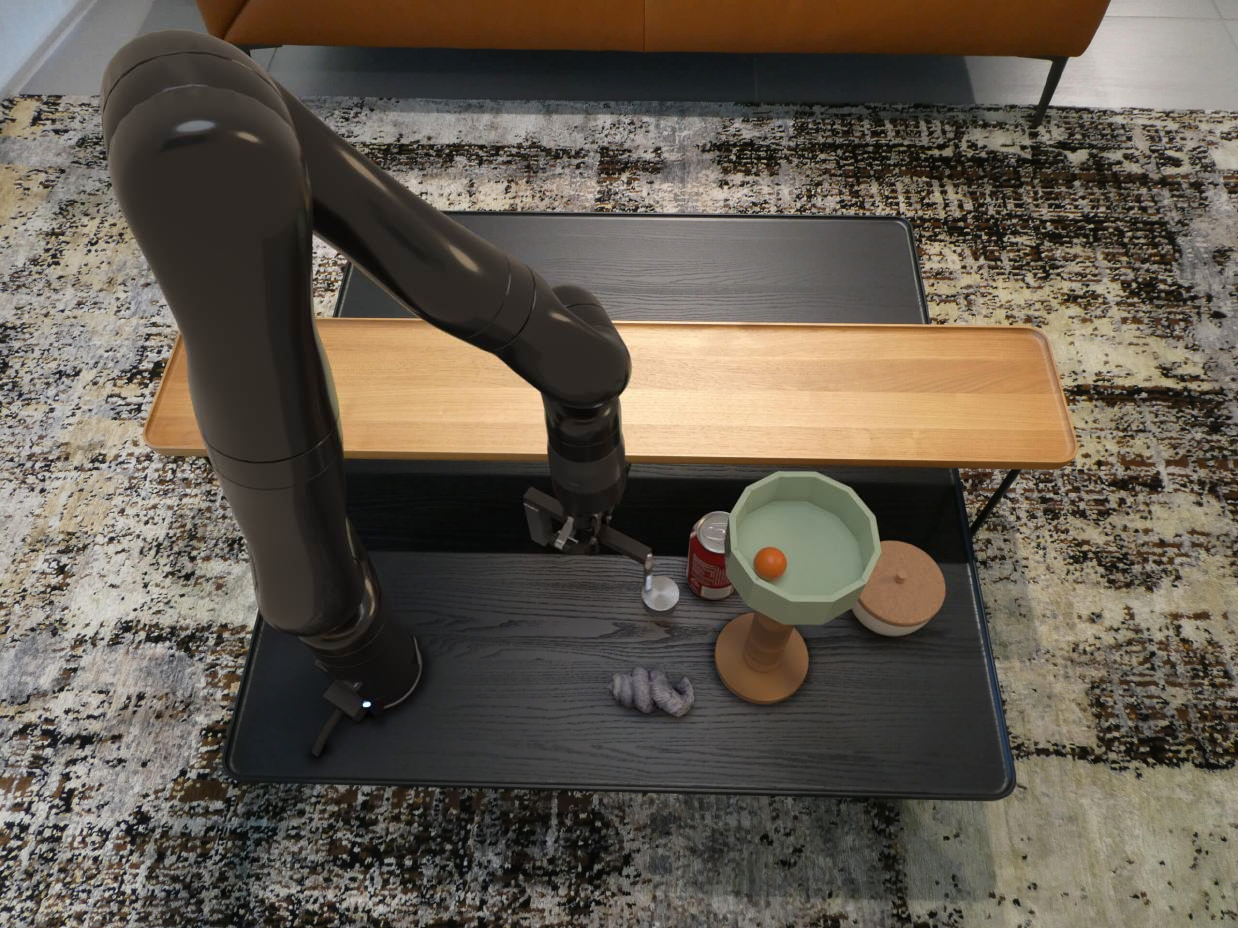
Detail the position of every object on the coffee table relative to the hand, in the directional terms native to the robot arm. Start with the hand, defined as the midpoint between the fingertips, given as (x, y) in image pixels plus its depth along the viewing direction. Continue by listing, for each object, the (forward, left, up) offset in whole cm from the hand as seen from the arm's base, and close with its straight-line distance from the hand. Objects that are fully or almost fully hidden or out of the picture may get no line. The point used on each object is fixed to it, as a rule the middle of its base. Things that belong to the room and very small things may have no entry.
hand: (594, 542), depth 97 cm
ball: (-1, -20, +17) cm, 26 cm away
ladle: (0, -1, -6) cm, 6 cm away
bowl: (+2, -22, +14) cm, 26 cm away
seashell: (-9, -13, -12) cm, 20 cm away
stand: (+2, -22, -12) cm, 25 cm away
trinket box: (+15, -32, -12) cm, 37 cm away
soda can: (+8, -12, -12) cm, 19 cm away
